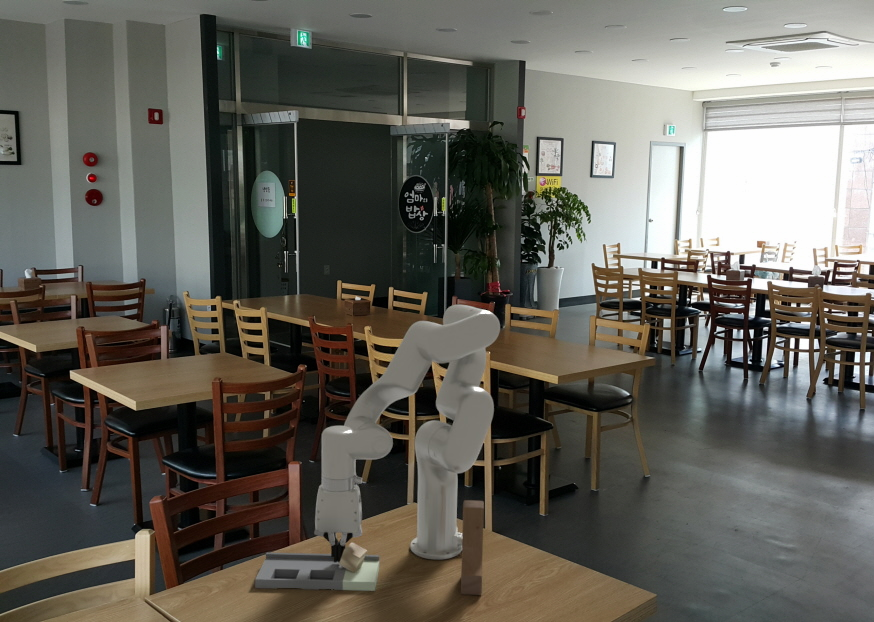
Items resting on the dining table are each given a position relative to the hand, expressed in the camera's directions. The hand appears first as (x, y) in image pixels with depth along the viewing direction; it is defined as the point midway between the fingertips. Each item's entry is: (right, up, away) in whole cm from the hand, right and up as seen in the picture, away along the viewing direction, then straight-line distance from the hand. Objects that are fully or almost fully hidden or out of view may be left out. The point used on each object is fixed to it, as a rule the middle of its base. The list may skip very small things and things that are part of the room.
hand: (338, 559), depth 180 cm
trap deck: (-4, -3, -2) cm, 6 cm away
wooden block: (+30, -5, -4) cm, 31 cm away
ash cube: (+3, -1, -1) cm, 3 cm away
